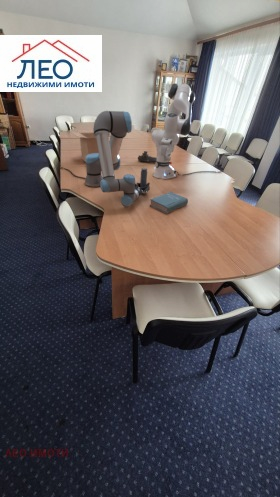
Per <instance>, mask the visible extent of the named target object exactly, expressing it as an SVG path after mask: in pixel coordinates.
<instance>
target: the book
mask: <svg viewBox="0 0 280 497" xmlns="http://www.w3.org/2000/svg"><path fill="white" fill-rule="evenodd" d="M149 201H150V204H149V207H151V208H154V209H155V210H157V211H159V212H161V213H164V214H168V213H171V212H173V211H175V210H178V209H180V208H182V207H185V206H186V205H188V202H189V198H188V197H184V196H182V195H180V194H177V193H175V192H172V191H169V192H166V193H164V194H161V195H158V196H156V197H152V198H150V199H149Z"/></svg>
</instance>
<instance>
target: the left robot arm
mask: <svg viewBox="0 0 280 497" xmlns="http://www.w3.org/2000/svg"><path fill="white" fill-rule="evenodd" d="M132 121H133V120H132V116H131V113H130V112H129V111H124V110H123V111H122V110H121V111H120V110H119V111H118V110H104V111H101V112H100V113H99V114H98V115H97V116H96V118H95V119H94V122H93V131H94V136H95V137H96V139H97V145H98V151H99V153H92V154H89V155H87V156H86V162H85V168H86V169H85V170H86V177H84V176H83V177H82V176H78V175H75V174H74V173H73V172H72V171H71V170H70V169H68V168H66V167H64V166H63V167H62V166H61V167H60V169H61V170H62V169H64V170H66V171H69V173H70V174H71V175H72V176H73V177H75V178H79V179H83V180H84V185H85V186H87V187H90V188H99V187H100V190H101V192H102V193H115V192H122V196H121V198H120V203H121V204H122V206H123V207H130V206H132V205H133V203H135V201H136V200H137V199H139V198H140V197H141V196H142V195H141V194H142V193H145V194H146V195H147V193H148V192H149V191H150V188H151V186H150V182H147V184H146V186H145V187H143V188H142V187H141V188H140V182H137V183H136V176H135V175H133V174H129V173H128V174H124V175H123V177H122V178H116V176H115V171H118V170H119V169H120V167H121V157H120V155H119V153H120V150H121V146H122V143H123V139H124V138H126V137H127V134H129V133H132V131H133V130H132V129H133V122H132ZM109 135H111V136H110V137H109Z"/></svg>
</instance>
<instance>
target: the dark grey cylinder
mask: <svg viewBox="0 0 280 497" xmlns="http://www.w3.org/2000/svg"><path fill="white" fill-rule="evenodd" d="M139 178H140V180H139V183H140V187H139V188H141V187H142V188H143V187H145V186H146V184H147V183H148V182H147V181H148V168H147V167H141V169H140V177H139ZM146 195H147V193H146V194H145V193H142V194H141V195H140V196H146Z"/></svg>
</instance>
